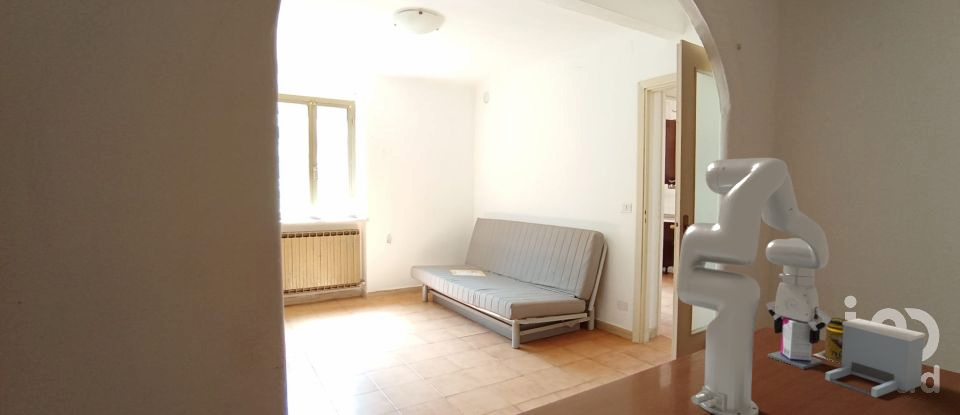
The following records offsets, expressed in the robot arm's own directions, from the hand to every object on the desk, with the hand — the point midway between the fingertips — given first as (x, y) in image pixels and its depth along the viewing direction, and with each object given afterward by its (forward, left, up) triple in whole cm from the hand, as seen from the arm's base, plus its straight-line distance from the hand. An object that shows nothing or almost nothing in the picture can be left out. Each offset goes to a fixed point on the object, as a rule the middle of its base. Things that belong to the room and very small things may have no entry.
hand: (795, 337), depth 132 cm
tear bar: (-7, -17, -7) cm, 19 cm away
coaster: (0, 0, -7) cm, 7 cm away
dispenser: (+3, -17, -7) cm, 18 cm away
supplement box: (0, 0, -6) cm, 6 cm away
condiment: (+13, -4, -7) cm, 15 cm away
